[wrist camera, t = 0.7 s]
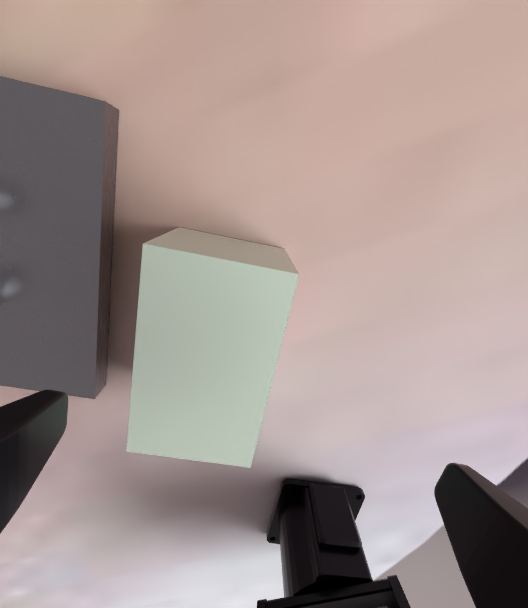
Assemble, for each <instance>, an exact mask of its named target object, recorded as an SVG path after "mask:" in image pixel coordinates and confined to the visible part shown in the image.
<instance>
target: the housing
mask: <svg viewBox="0 0 528 608" xmlns="http://www.w3.org/2000/svg"><path fill="white" fill-rule="evenodd" d="M298 277H299V273H298V271H297V270H296V268H295V266H294V264H293V263H292V261H291V259H290V258H289V256H288V254H287V252H286V251H285V249H283V248H278V247H274V246H269V245H264V244H259V243H254V242H249V241H244V240H239V239H234V238H230V237H225V236H220V235H215V234H210V233H205V232H200V231H195V230H190V229H186V228H181V227H178V228H176V229H174V230H172V231H169V232H167V233H165V234H163V235H161V236H158V237H156V238H154V239H152V240H149V241H147V242H145V243H143V248H142V260H141V273H140V285H139V298H138V310H137V323H136V335H135V348H134V360H133V373H132V386H131V398H130V411H129V423H128V436H127V448H126V452H133V453H140V454H148V455H156V456H163V457H171V458H179V459H186V460H194V461H202V462H209V463H217V464H225V465H232V466H240V467H248V468H251V464H252V460H253V456H254V452H255V448H256V444H257V440H258V436H259V432H260V428H261V424H262V420H263V416H264V412H265V408H266V404H267V400H268V396H269V392H270V388H271V384H272V380H273V376H274V372H275V368H276V364H277V361H278V357H279V353H280V349H281V345H282V341H283V337H284V333H285V329H286V325H287V321H288V317H289V313H290V309H291V305H292V301H293V297H294V293H295V289H296V285H297V281H298Z"/></svg>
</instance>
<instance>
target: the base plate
mask: <svg viewBox="0 0 528 608" xmlns="http://www.w3.org/2000/svg"><path fill="white" fill-rule="evenodd" d="M118 120H119V110H118V109H117V108H115V107H113V106H112V105H110V104H109V103H107V102H105V101H101V100H97V99H93V98H89V97H85V96H80V95H76V94H72V93H68V92H64V91H60V90H55V89H51V88H47V87H43V86H39V85H34V84H30V83H26V82H22V81H18V80H14V79H9V78H5V77H1V76H0V385H2V386H9V387H16V388H23V389H30V390H36V391H43V390H46V389H49V390H55V391H61V392H65V393H66V394H67V395H71V396H78V397H84V398H91V399H95V398H96V397H97V396H98V394H99V393H100V392H101V390H102V389H103V388H104V386H105V385H106V369H107V349H108V328H109V307H110V286H111V265H112V245H113V224H114V203H115V182H116V161H117V141H118Z"/></svg>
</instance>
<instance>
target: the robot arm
mask: <svg viewBox="0 0 528 608" xmlns="http://www.w3.org/2000/svg"><path fill="white" fill-rule="evenodd" d="M67 410H68V395H67V394H66V393H65V392H61V391H55V390H49V389H46V390H43V391H40V392H37V393H35V394H32V395H30V396H27V397H25V398H22V399H19V400H17V401H14V402H12V403H9V404H6V405H4V406H1V407H0V533H1V532H2V531H3V529H4V528H5V527H6V525H7V524H8V523H9V521H10V520H11V518H12V517H13V515H14V514H15V513H16V511H17V510H18V508H19V507H20V505H21V504H22V502H23V500H24V499H25V497H26V496H27V494H28V492H29V491H30V489H31V487H32V486H33V484H34V482H35V481H36V479H37V477H38V476H39V474H40V472H41V471H42V469H43V467H44V466H45V464H46V462H47V461H48V459H49V457H50V456H51V454H52V452H53V451H54V449H55V447H56V446H57V444H58V442H59V440H60V439H61V437H62V435H63V433H64V431H65V428H66V425H67ZM434 494H435V499H436V502H437V505H438V508H439V511H440V513H441V516H442V519H443V522H444V525H445V528H446V531H447V534H448V537H449V540H450V542H451V545H452V548H453V551H454V554H455V557H456V560H457V562H458V565H459V568H460V571H461V573H462V576H463V578H464V580H465V583H466V585H467V588H468V590H469V592H470V594H471V597H472V599H473V601H474V604H475V606H476V608H528V508H527V507H525V506H523V505H522V504H521V503H520V502H518V501H517V500H515V499H514V498H513V497H511V496H510V495H508V494H507V493H506V492H504V491H503V490H501V489H500V488H498V487H497V486H496V485H494V484H493V483H492V482H490V481H489V480H487V479H486V478H485V477H483V476H482V475H480V474H479V473H478V472H476V471H475V470H473V469H472V468H471V467H469V466H467V465H463V464H457V463H450V464H448V465H447V466H446V468H445V469H444V471H443V473H442V475H441V477H440V479H439V480H438V482H437V484H436V486H435V493H434ZM364 499H365V495H364V492H363V490H362V489H361V488H356V487H348V486H340V485H333V484H325V483H317V482H309V481H302V480H294V479H285V480H284V481H282V483H281V487H280V490H279V493H278V497H277V500H276V503H275V507H274V510H273V513H272V517H271V520H270V523H269V527H268V530H267V541H268V542H269V543H275V544H280V548H281V561H282V574H283V587H284V598H279V599H274V600H269V601H267V600H266V599H264V600H258V601H257V608H410V605H409V603H408V601H407V598H406V596H405V594H404V591H403V589H402V587H401V585H400V582H399V580H398V578H397V576H396V575H392V576H388V577H387V579H381V580H376V581H373V580H372V577H371V573H370V570H369V567H368V564H367V561H366V557H365V554H364V551H363V548H362V542H361V539H360V536H359V533H358V529H357V526H356V523H355V520H356V517H357V515H358V513H359V510H360V508H361V506H362V503H363V501H364Z"/></svg>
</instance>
